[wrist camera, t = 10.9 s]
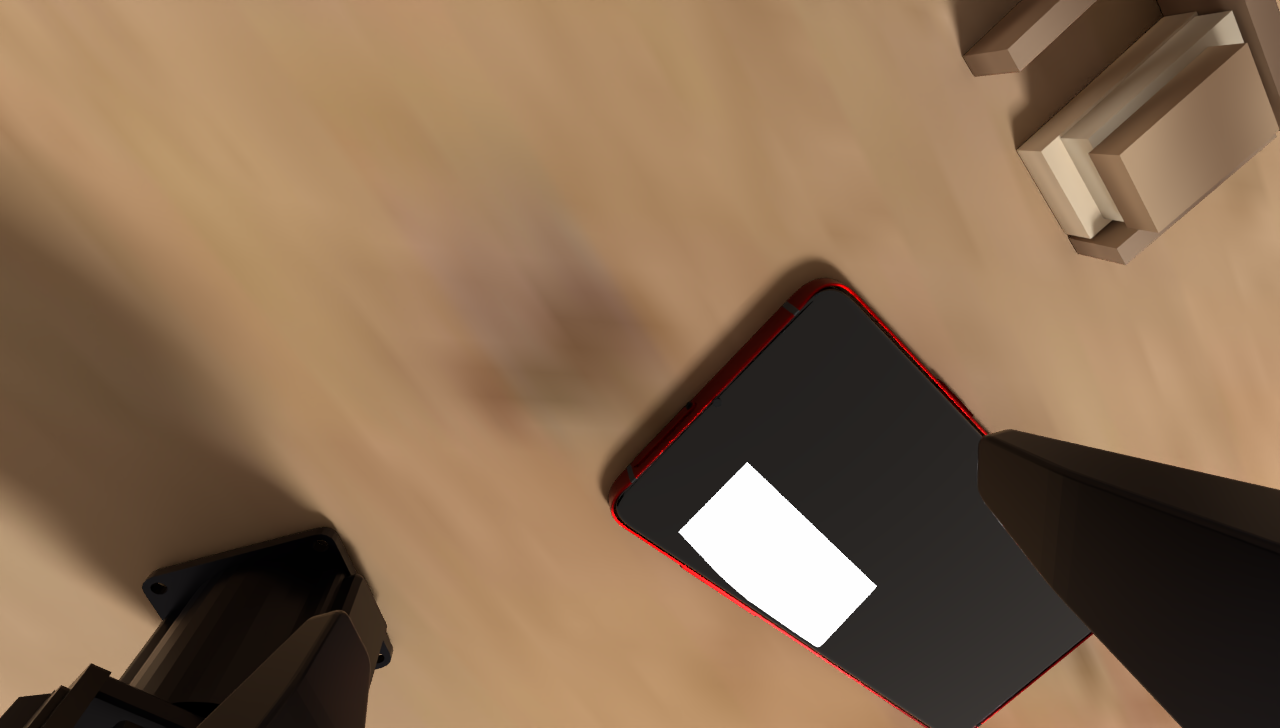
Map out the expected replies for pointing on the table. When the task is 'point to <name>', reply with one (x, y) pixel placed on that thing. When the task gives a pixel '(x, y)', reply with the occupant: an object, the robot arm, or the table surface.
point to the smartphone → (851, 515)
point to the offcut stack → (1153, 128)
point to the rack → (1267, 31)
